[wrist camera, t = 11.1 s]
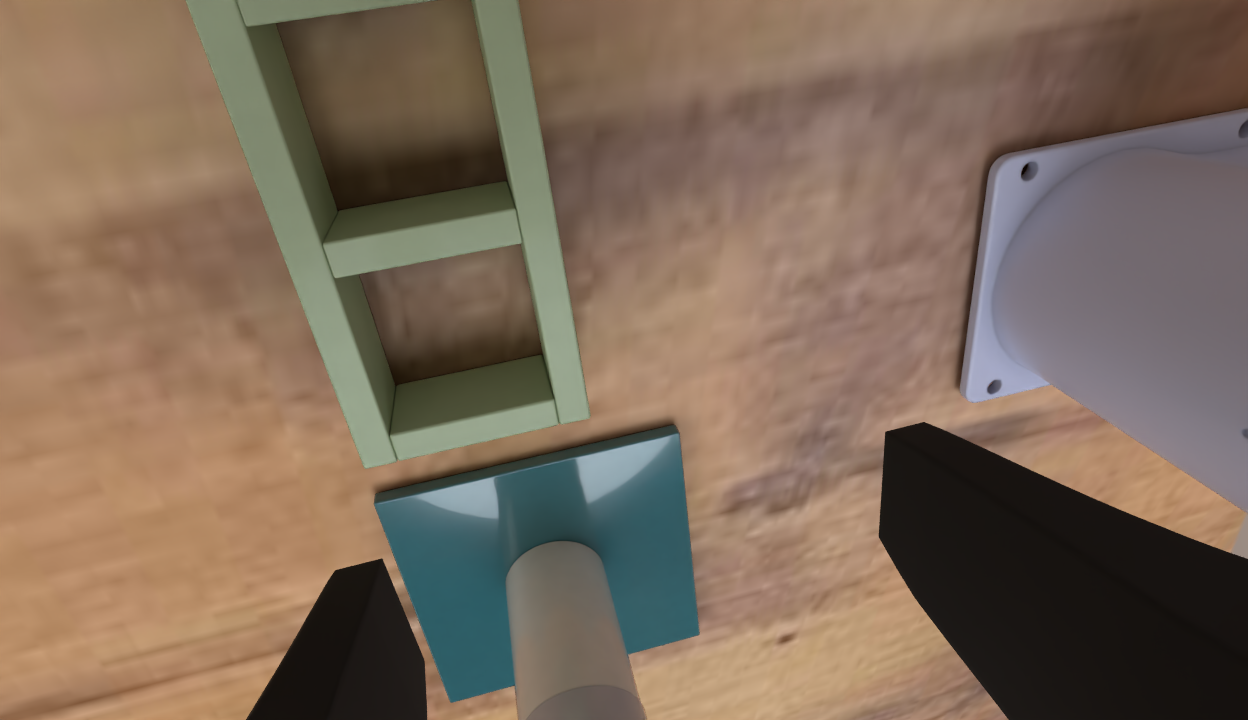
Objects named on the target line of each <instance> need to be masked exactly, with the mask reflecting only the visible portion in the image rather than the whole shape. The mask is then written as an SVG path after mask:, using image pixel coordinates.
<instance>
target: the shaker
mask: <svg viewBox="0 0 1248 720" xmlns="http://www.w3.org/2000/svg"><path fill="white" fill-rule="evenodd" d="M505 590H506V600H507V611H508V621H509V632H510V642H511V653H512V663H513V674H514V684H515V695H516V705H517V716H518V720H647V716H646V712H645V709H644V707H643V705H642V703H641V701H640V698H639V694H638V690H637V686H636V683H635V679H634V675H633V672H632V668H631V664H630V660H629V657H628V653H627V649H626V646H625V642H624V638H623V634H622V631H621V627H620V623H619V620H618V616H617V612H616V609H615V605H614V601H613V597H612V594H611V590H610V586H609V583H608V579H607V575H606V571H605V568H604V564H603V562H602V560H601V558H600V557H599V555H598V554H597V553H596V552H595V551H594V550H592V549H591V548H589V547H588V546H586V545H583V544H581V543H577V542H572V541H553V542H548V543H545V544H541V545H539V546H536V547H534V548H532V549H530V550H528V551H527V552H525V553H524V554H523V555H521V556H520V557H519V558H518V559H517V560H516V561H515V562H514V564H513V565H512V566H511V568H510V570H509V572H508V574H507V577H506V582H505Z"/></svg>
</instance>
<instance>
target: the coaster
mask: <svg viewBox="0 0 1248 720" xmlns="http://www.w3.org/2000/svg"><path fill="white" fill-rule="evenodd" d="M374 506H375V509H376V511H377V514H378V516H379V519H380V522H381V524H382V527H383V529H384V532H385V534H386V537H387V540H388V542H389V545H390V547H391V550H392V553H393V555H394V558H395V560H396V563H397V566H398V568H399V571H400V573H401V576H402V579H403V581H404V584H405V586H406V589H407V592H408V594H409V597H410V599H411V602H412V605H413V607H414V610H415V612H416V615H417V617H418V620H419V623H420V625H421V628H422V630H423V633H424V636H425V638H426V641H427V643H428V646H429V649H430V651H431V654H432V656H433V659H434V662H435V664H436V667H437V669H438V672H439V675H440V677H441V680H442V682H443V685H444V687H445V690H446V693H447V695H448V698H449V700H450V702H451V703H453V702H456V701H460V700H464V699H467V698H471V697H475V696H478V695H482V694H486V693H489V692H493V691H497V690H500V689H504V688H508V687H511V686H515V684H514V674H513V663H512V653H511V642H510V632H509V621H508V611H507V600H506V590H505V582H506V577H507V574H508V572H509V570H510V568H511V566H512V565H513V564H514V562H515V561H516V560H517V559H518V558H519V557H520V556H521V555H523V554H524V553H525V552H527V551H528V550H530V549H532V548H534V547H536V546H539V545H541V544H545V543H548V542H553V541H572V542H577V543H581V544H583V545H586V546H588V547H589V548H591V549H592V550H594V551H595V552H596V553H597V554H598V555H599V557H600V558H601V560H602V562H603V564H604V568H605V571H606V575H607V579H608V583H609V586H610V590H611V594H612V597H613V601H614V605H615V609H616V612H617V616H618V620H619V623H620V627H621V631H622V634H623V638H624V642H625V646H626V649H627V653H628V654H632V653H636V652H639V651H643V650H647V649H650V648H654V647H658V646H661V645H665V644H669V643H672V642H676V641H680V640H683V639H687V638H690V637H694V636H698V635H699V634H700V632H699V622H698V612H697V602H696V592H695V582H694V572H693V562H692V552H691V542H690V532H689V522H688V512H687V502H686V492H685V482H684V472H683V462H682V453H681V443H680V433H679V431H678V429H677V427H676V425H670V426H666V427H662V428H657V429H653V430H649V431H644V432H640V433H636V434H631V435H627V436H623V437H618V438H614V439H610V440H605V441H601V442H597V443H592V444H588V445H584V446H579V447H575V448H571V449H566V450H562V451H558V452H553V453H549V454H545V455H540V456H536V457H532V458H527V459H523V460H519V461H514V462H510V463H506V464H501V465H497V466H493V467H488V468H484V469H480V470H475V471H471V472H467V473H462V474H458V475H454V476H449V477H445V478H441V479H436V480H432V481H428V482H423V483H419V484H415V485H410V486H406V487H402V488H397V489H393V490H389V491H384V492H380V493H376V494H375V499H374Z"/></svg>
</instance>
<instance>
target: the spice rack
mask: <svg viewBox="0 0 1248 720" xmlns="http://www.w3.org/2000/svg"><path fill="white" fill-rule="evenodd" d="M428 1H436V0H186V3H187V6H188V8H189V11H190V13H191V16H192V19H193V21H194V24H195V27H196V29H197V32H198V34H199V37H200V40H201V42H202V45H203V48H204V50H205V53H206V55H207V58H208V61H209V63H210V66H211V68H212V71H213V74H214V76H215V79H216V82H217V84H218V87H219V89H220V92H221V95H222V97H223V100H224V103H225V105H226V108H227V110H228V113H229V116H230V118H231V121H232V123H233V126H234V129H235V131H236V134H237V137H238V139H239V142H240V144H241V147H242V150H243V152H244V155H245V158H246V160H247V163H248V165H249V168H250V171H251V173H252V176H253V178H254V181H255V184H256V186H257V189H258V192H259V194H260V197H261V199H262V202H263V205H264V207H265V210H266V213H267V215H268V218H269V220H270V223H271V226H272V228H273V231H274V233H275V236H276V239H277V241H278V244H279V247H280V249H281V252H282V254H283V257H284V260H285V262H286V265H287V268H288V270H289V273H290V275H291V278H292V281H293V283H294V286H295V288H296V291H297V294H298V296H299V299H300V302H301V304H302V307H303V309H304V312H305V315H306V317H307V320H308V322H309V325H310V328H311V330H312V333H313V336H314V338H315V341H316V343H317V346H318V349H319V351H320V354H321V357H322V359H323V362H324V364H325V367H326V370H327V372H328V375H329V377H330V380H331V383H332V385H333V388H334V391H335V393H336V396H337V398H338V401H339V404H340V406H341V409H342V412H343V414H344V417H345V419H346V422H347V425H348V427H349V430H350V432H351V435H352V438H353V440H354V443H355V446H356V448H357V451H358V453H359V456H360V459H361V461H362V464H363V467H364V468H365V469H367V468H372V467H376V466H381V465H385V464H390V463H394V462H396V461H397V459H398V460H400V461H401V460H406V459H410V458H415V457H419V456H423V455H428V454H432V453H437V452H441V451H446V450H450V449H454V448H459V447H463V446H468V445H472V444H477V443H481V442H485V441H490V440H494V439H499V438H503V437H508V436H512V435H516V434H521V433H525V432H530V431H534V430H539V429H543V428H547V427H552V426H556V425H558V424H559V423H560V424H566V423H571V422H575V421H580V420H584V419H589V418H590V416H591V415H590V409H589V403H588V398H587V392H586V386H585V380H584V375H583V369H582V363H581V357H580V352H579V346H578V340H577V334H576V329H575V323H574V317H573V311H572V306H571V300H570V294H569V288H568V283H567V277H566V271H565V265H564V260H563V254H562V248H561V242H560V237H559V231H558V225H557V219H556V214H555V208H554V202H553V196H552V191H551V185H550V179H549V173H548V168H547V162H546V156H545V150H544V145H543V139H542V133H541V127H540V122H539V116H538V110H537V104H536V99H535V93H534V87H533V81H532V76H531V70H530V64H529V58H528V53H527V47H526V41H525V35H524V30H523V24H522V18H521V12H520V7H519V1H518V0H471V2H472V7H473V12H474V17H475V22H476V27H477V32H478V37H479V42H480V47H481V52H482V57H483V61H484V66H485V71H486V76H487V81H488V86H489V91H490V96H491V101H492V106H493V111H494V116H495V120H496V125H497V130H498V135H499V140H500V145H501V150H502V155H503V160H504V165H505V170H506V174H507V179H508V182H507V181H503V182H497V183H491V184H486V185H480V186H475V187H469V188H463V189H458V190H452V191H446V192H441V193H435V194H429V195H424V196H418V197H412V198H407V199H401V200H396V201H390V202H384V203H379V204H373V205H367V206H362V207H356V208H350V209H345V210H340V211H339V212H338V211H337V208H336V205H335V202H334V199H333V196H332V193H331V190H330V187H329V184H328V181H327V178H326V175H325V171H324V168H323V165H322V162H321V159H320V156H319V153H318V150H317V147H316V144H315V141H314V138H313V135H312V132H311V129H310V126H309V123H308V120H307V117H306V114H305V111H304V108H303V105H302V102H301V99H300V96H299V93H298V90H297V87H296V84H295V81H294V78H293V75H292V72H291V69H290V66H289V63H288V59H287V56H286V53H285V50H284V47H283V44H282V41H281V38H280V35H279V32H278V29H277V26H276V23H280V22H287V21H294V20H301V19H308V18H315V17H322V16H329V15H336V14H343V13H351V12H358V11H365V10H372V9H379V8H386V7H393V6H400V5H407V4H414V3H421V2H428ZM520 243H521V248H522V253H523V258H524V263H525V268H526V273H527V278H528V283H529V288H530V292H531V297H532V302H533V307H534V312H535V317H536V322H537V327H538V332H539V337H540V342H541V347H542V351H543V355H537V356H532V357H527V358H523V359H518V360H513V361H508V362H504V363H499V364H494V365H490V366H485V367H480V368H475V369H471V370H466V371H461V372H456V373H452V374H447V375H442V376H438V377H433V378H428V379H423V380H419V381H414V382H409V383H404V384H400V385H397V386H395V383H394V380H393V377H392V374H391V371H390V368H389V365H388V362H387V359H386V356H385V353H384V350H383V347H382V344H381V341H380V338H379V335H378V332H377V329H376V326H375V323H374V320H373V317H372V314H371V311H370V308H369V305H368V302H367V299H366V296H365V293H364V290H363V287H362V283H361V280H360V277H359V274H362V273H368V272H373V271H378V270H383V269H389V268H394V267H399V266H405V265H410V264H415V263H420V262H426V261H431V260H436V259H441V258H447V257H452V256H457V255H463V254H468V253H473V252H478V251H484V250H489V249H494V248H499V247H505V246H510V245H515V244H520ZM543 356H544V357H543Z"/></svg>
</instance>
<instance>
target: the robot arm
mask: <svg viewBox="0 0 1248 720" xmlns="http://www.w3.org/2000/svg"><path fill="white" fill-rule="evenodd" d="M1027 163H1028V168H1027V171H1026V172H1025V173H1024V174H1023V176H1021V171H1022V169H1023V167H1024V166H1025V165H1026V164H1027ZM992 381H993V382H992ZM991 382H992V384H991V385H990V386H988V385H989V384H990V383H991ZM1048 385H1053V386H1054V387H1056V388H1057V389H1059V390H1060V391H1062V392H1063V393H1065V394H1066V395H1068V396H1069V397H1071V398H1072V399H1074V400H1076V401H1077V402H1079V403H1080V404H1082V405H1083V406H1085V407H1086V408H1088V409H1089V410H1091V411H1092V412H1094V413H1095V414H1097V415H1098V416H1100V417H1101V418H1103V419H1104V420H1106V421H1107V422H1109V423H1111V424H1112V425H1114V426H1115V427H1117V428H1118V429H1120V430H1121V431H1123V432H1124V433H1126V434H1127V435H1129V436H1130V437H1132V438H1133V439H1135V440H1136V441H1138V442H1139V443H1141V444H1142V445H1144V446H1146V447H1147V448H1149V449H1150V450H1152V451H1153V452H1155V453H1156V454H1158V455H1159V456H1161V457H1162V458H1164V459H1165V460H1167V461H1168V462H1170V463H1171V464H1173V465H1174V466H1176V467H1177V468H1179V469H1181V470H1182V471H1184V472H1185V473H1187V474H1188V475H1190V476H1191V477H1193V478H1194V479H1196V480H1197V481H1199V482H1200V483H1202V484H1203V485H1205V486H1206V487H1208V488H1209V489H1211V490H1213V491H1214V492H1216V493H1217V494H1219V495H1220V496H1222V497H1223V498H1225V499H1226V500H1228V501H1229V502H1231V503H1232V504H1234V505H1235V506H1237V507H1238V508H1240V509H1241V510H1243V511H1244V512H1246V513H1248V108H1244V109H1239V110H1233V111H1228V112H1223V113H1218V114H1212V115H1207V116H1202V117H1197V118H1191V119H1186V120H1181V121H1176V122H1170V123H1165V124H1160V125H1155V126H1149V127H1144V128H1139V129H1134V130H1128V131H1123V132H1118V133H1112V134H1107V135H1102V136H1097V137H1091V138H1086V139H1081V140H1076V141H1070V142H1065V143H1060V144H1055V145H1049V146H1044V147H1039V148H1034V149H1028V150H1023V151H1018V152H1013V153H1007V154H1005V155H1002V156H1000V157H999V158H998V159H997V160H996V161H995V162H994V163H993V165H992V166H991V168H990V171H989V175H988V182H987V189H986V197H985V204H984V211H983V219H982V226H981V234H980V241H979V249H978V256H977V264H976V271H975V278H974V286H973V293H972V301H971V308H970V316H969V323H968V331H967V338H966V345H965V353H964V360H963V368H962V375H961V383H960V393H961V395H962V396H963V397H964V398H965V399H967V400H968V401H970V402H972V403H976V402H981V401H986V400H990V399H994V398H998V397H1002V396H1006V395H1010V394H1015V393H1019V392H1023V391H1027V390H1031V389H1035V388H1040V387H1044V386H1048ZM879 538H880V540H881V542H882V543H883V545H884V547H885V549H886V550H887V552H888V554H889V556H890V557H891V559H892V561H893V563H894V564H895V566H896V568H897V570H898V571H899V573H900V575H901V576H902V578H903V579H904V581H905V583H906V584H907V586H908V588H909V589H910V591H911V592H912V594H913V596H914V597H915V599H916V600H917V601H918V603H919V604H920V605H921V607H922V608H923V609H924V611H925V612H926V613H927V615H928V616H929V617H930V619H931V620H932V621H933V623H934V624H935V625H936V626H937V628H938V629H939V630H940V632H941V633H942V634H943V636H944V637H945V638H946V640H947V641H948V642H949V643H950V645H951V646H952V647H953V649H954V650H955V651H956V652H957V654H958V655H959V656H960V658H961V659H962V660H963V661H964V663H965V664H966V665H967V667H968V668H969V669H970V670H971V672H972V673H973V674H974V676H975V677H976V678H977V679H978V681H979V682H980V683H981V685H982V686H983V687H984V688H985V690H986V691H987V692H988V693H989V695H990V696H991V697H992V699H993V700H994V701H995V702H996V704H997V705H998V706H999V708H1000V709H1001V710H1002V711H1003V713H1004V714H1005V715H1006V717H1007V718H1008V719H1009V720H1248V559H1246V558H1243V557H1240V556H1238V555H1235V554H1232V553H1229V552H1226V551H1223V550H1220V549H1218V548H1215V547H1212V546H1210V545H1207V544H1204V543H1202V542H1199V541H1196V540H1194V539H1191V538H1188V537H1186V536H1183V535H1181V534H1178V533H1176V532H1173V531H1171V530H1168V529H1166V528H1163V527H1161V526H1158V525H1156V524H1153V523H1151V522H1148V521H1146V520H1143V519H1141V518H1138V517H1136V516H1133V515H1131V514H1129V513H1126V512H1124V511H1121V510H1119V509H1117V508H1114V507H1112V506H1110V505H1107V504H1105V503H1103V502H1100V501H1098V500H1096V499H1093V498H1091V497H1089V496H1087V495H1084V494H1082V493H1080V492H1078V491H1075V490H1073V489H1071V488H1069V487H1066V486H1064V485H1062V484H1060V483H1058V482H1055V481H1053V480H1051V479H1049V478H1047V477H1044V476H1042V475H1040V474H1038V473H1036V472H1034V471H1031V470H1029V469H1027V468H1025V467H1023V466H1021V465H1018V464H1016V463H1014V462H1012V461H1010V460H1008V459H1006V458H1003V457H1001V456H999V455H997V454H995V453H993V452H991V451H988V450H986V449H984V448H982V447H980V446H978V445H975V444H973V443H971V442H969V441H967V440H965V439H962V438H960V437H958V436H956V435H954V434H951V433H949V432H947V431H944V430H942V429H940V428H937V427H935V426H933V425H930V424H928V423H925V422H922V423H918V424H914V425H910V426H906V427H902V428H898V429H894V430H891V431H887V432H885V446H884V462H883V477H882V493H881V509H880V525H879ZM246 720H427V700H426V681H425V662H424V658H423V656H422V653H421V651H420V648H419V646H418V644H417V641H416V639H415V636H414V634H413V632H412V629H411V627H410V624H409V622H408V620H407V617H406V615H405V612H404V610H403V608H402V605H401V603H400V600H399V598H398V595H397V593H396V591H395V588H394V586H393V583H392V581H391V579H390V576H389V574H388V571H387V569H386V567H385V564H384V562H383V559H378V560H374V561H370V562H366V563H362V564H358V565H354V566H350V567H346V568H342V569H338V570H335V571H334V573H333V574H332V576H331V577H330V579H329V580H328V582H327V584H326V585H325V587H324V589H323V591H322V592H321V594H320V596H319V597H318V599H317V601H316V603H315V604H314V606H313V608H312V610H311V611H310V613H309V615H308V617H307V618H306V620H305V622H304V624H303V625H302V627H301V629H300V631H299V632H298V634H297V636H296V638H295V639H294V641H293V643H292V644H291V646H290V648H289V650H288V651H287V653H286V655H285V656H284V658H283V660H282V662H281V663H280V665H279V667H278V668H277V670H276V672H275V673H274V675H273V677H272V678H271V680H270V681H269V683H268V685H267V686H266V688H265V690H264V691H263V693H262V695H261V696H260V698H259V699H258V701H257V703H256V704H255V706H254V708H253V709H252V711H251V712H250V714H249V716H248V717H247V719H246Z"/></svg>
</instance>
